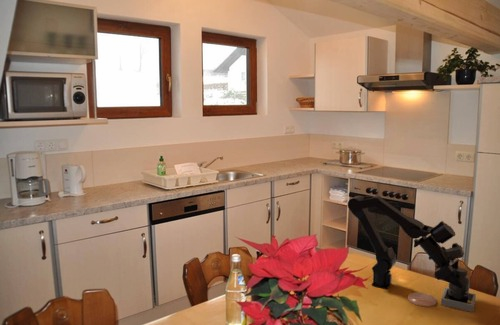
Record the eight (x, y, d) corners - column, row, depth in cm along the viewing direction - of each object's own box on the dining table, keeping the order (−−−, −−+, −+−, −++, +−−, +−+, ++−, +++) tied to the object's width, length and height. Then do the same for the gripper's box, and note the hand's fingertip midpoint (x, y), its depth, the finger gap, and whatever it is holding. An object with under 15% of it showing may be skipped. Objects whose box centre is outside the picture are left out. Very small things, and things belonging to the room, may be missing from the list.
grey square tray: (440, 304, 155) (441, 298, 154) (445, 293, 163) (445, 287, 163) (473, 312, 149) (473, 305, 149) (475, 300, 158) (475, 294, 157)
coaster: (405, 302, 157) (405, 300, 157) (411, 292, 165) (411, 290, 165) (434, 309, 152) (434, 307, 151) (438, 298, 160) (438, 296, 160)
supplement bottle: (470, 304, 152) (473, 274, 150) (450, 303, 153) (452, 272, 152) (464, 296, 159) (467, 266, 157) (445, 294, 160) (447, 265, 158)
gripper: (446, 245, 147) (479, 282, 143) (454, 231, 163) (484, 264, 158) (421, 261, 153) (452, 297, 148) (432, 247, 168) (460, 279, 164)
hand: (463, 284), depth 154 cm, fingers closed on supplement bottle, 7 cm apart
